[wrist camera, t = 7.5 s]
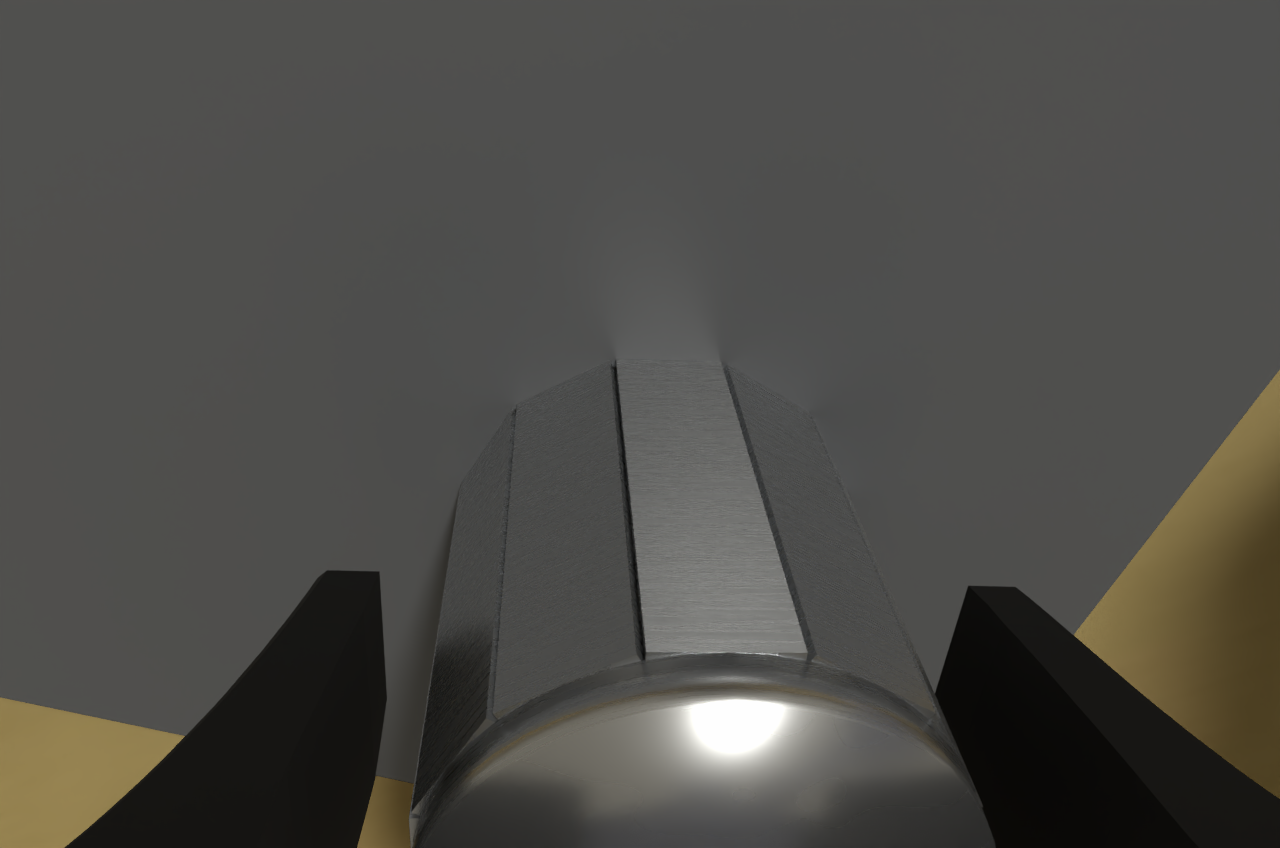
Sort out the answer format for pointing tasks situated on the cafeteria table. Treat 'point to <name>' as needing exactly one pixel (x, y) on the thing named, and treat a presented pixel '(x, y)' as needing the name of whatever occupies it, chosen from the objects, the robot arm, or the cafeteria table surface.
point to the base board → (598, 290)
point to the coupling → (675, 637)
